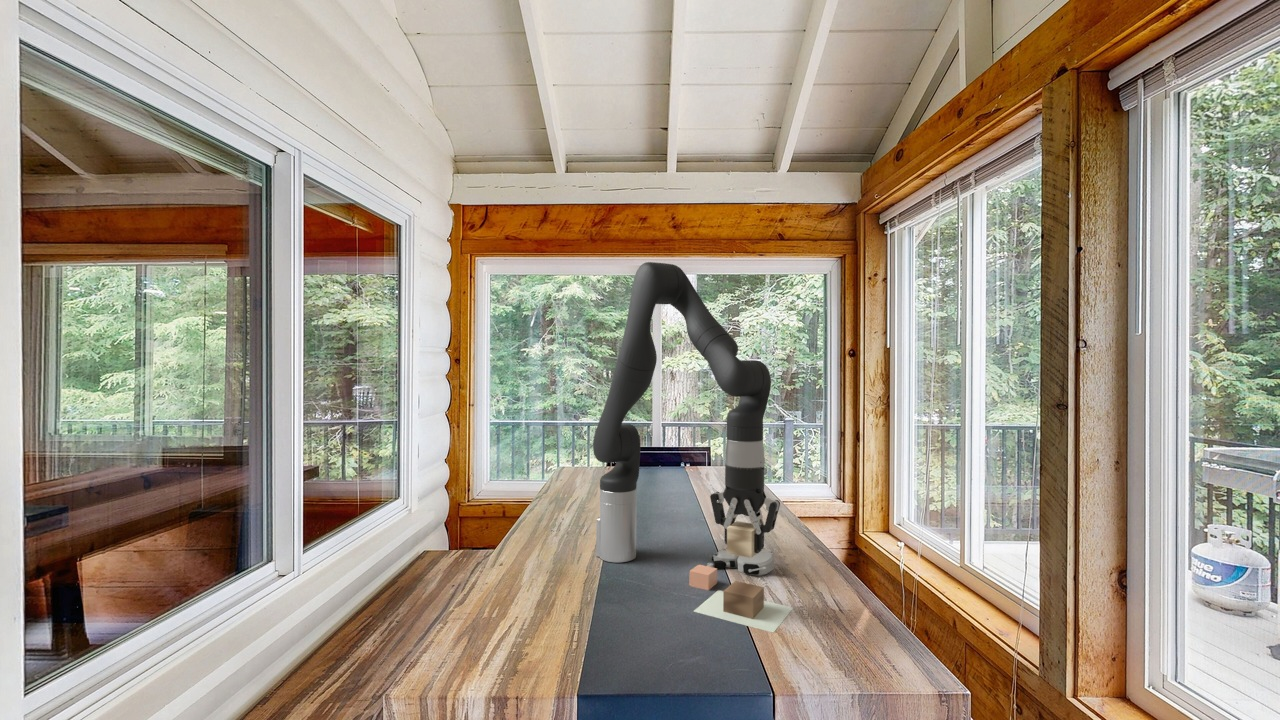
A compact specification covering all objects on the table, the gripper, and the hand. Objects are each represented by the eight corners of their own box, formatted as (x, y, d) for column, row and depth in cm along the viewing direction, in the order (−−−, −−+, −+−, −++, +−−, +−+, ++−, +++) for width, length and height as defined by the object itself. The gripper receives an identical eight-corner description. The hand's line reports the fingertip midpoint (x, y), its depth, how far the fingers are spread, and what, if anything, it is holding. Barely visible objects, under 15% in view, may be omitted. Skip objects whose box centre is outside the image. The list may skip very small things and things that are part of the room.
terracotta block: (689, 591, 124) (689, 570, 124) (698, 584, 128) (698, 564, 128) (708, 596, 122) (708, 575, 122) (717, 589, 126) (717, 568, 126)
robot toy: (704, 579, 134) (769, 585, 128) (703, 559, 134) (768, 564, 128) (719, 561, 145) (779, 566, 139) (718, 543, 145) (778, 547, 139)
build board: (693, 617, 112) (693, 611, 112) (718, 595, 122) (718, 589, 122) (773, 639, 104) (773, 632, 104) (793, 613, 114) (793, 607, 114)
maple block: (726, 553, 112) (727, 527, 112) (736, 545, 116) (736, 521, 116) (751, 557, 109) (751, 531, 109) (760, 550, 114) (760, 525, 114)
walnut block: (723, 611, 112) (723, 591, 112) (735, 600, 117) (735, 580, 117) (752, 619, 109) (753, 598, 109) (763, 607, 114) (763, 587, 114)
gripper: (702, 461, 113) (702, 548, 113) (774, 469, 106) (773, 562, 106) (718, 456, 120) (718, 538, 120) (786, 463, 112) (786, 550, 112)
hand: (744, 549), depth 113 cm, fingers closed on maple block, 5 cm apart
